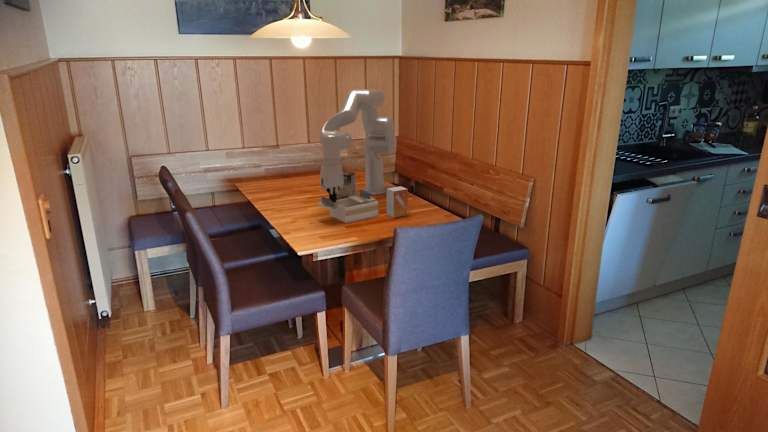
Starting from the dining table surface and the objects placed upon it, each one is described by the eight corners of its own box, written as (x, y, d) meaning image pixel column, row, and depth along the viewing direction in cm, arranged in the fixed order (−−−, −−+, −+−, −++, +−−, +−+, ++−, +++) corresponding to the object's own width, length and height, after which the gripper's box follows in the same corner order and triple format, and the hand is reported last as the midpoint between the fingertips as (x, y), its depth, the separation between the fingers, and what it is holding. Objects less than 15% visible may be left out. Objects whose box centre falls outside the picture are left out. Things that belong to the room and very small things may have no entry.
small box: (393, 218, 238) (393, 191, 234) (386, 214, 243) (386, 188, 239) (407, 215, 242) (408, 188, 238) (400, 212, 247) (400, 185, 243)
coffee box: (335, 204, 260) (333, 173, 255) (340, 201, 265) (339, 171, 261) (351, 206, 257) (350, 175, 252) (356, 203, 262) (355, 172, 258)
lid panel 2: (360, 203, 235) (360, 195, 234) (348, 198, 243) (347, 190, 242) (376, 200, 240) (376, 192, 239) (362, 195, 248) (362, 188, 247)
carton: (361, 209, 252) (361, 195, 250) (378, 216, 241) (378, 201, 239) (329, 215, 241) (329, 201, 239) (345, 223, 231) (345, 208, 228)
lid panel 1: (332, 201, 238) (332, 193, 237) (344, 206, 230) (344, 198, 229) (316, 204, 234) (315, 196, 233) (328, 209, 225) (328, 202, 224)
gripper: (341, 158, 234) (342, 197, 239) (312, 162, 225) (314, 202, 231) (350, 161, 228) (351, 200, 233) (321, 165, 220) (322, 206, 225)
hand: (333, 201), depth 232 cm, fingers closed
